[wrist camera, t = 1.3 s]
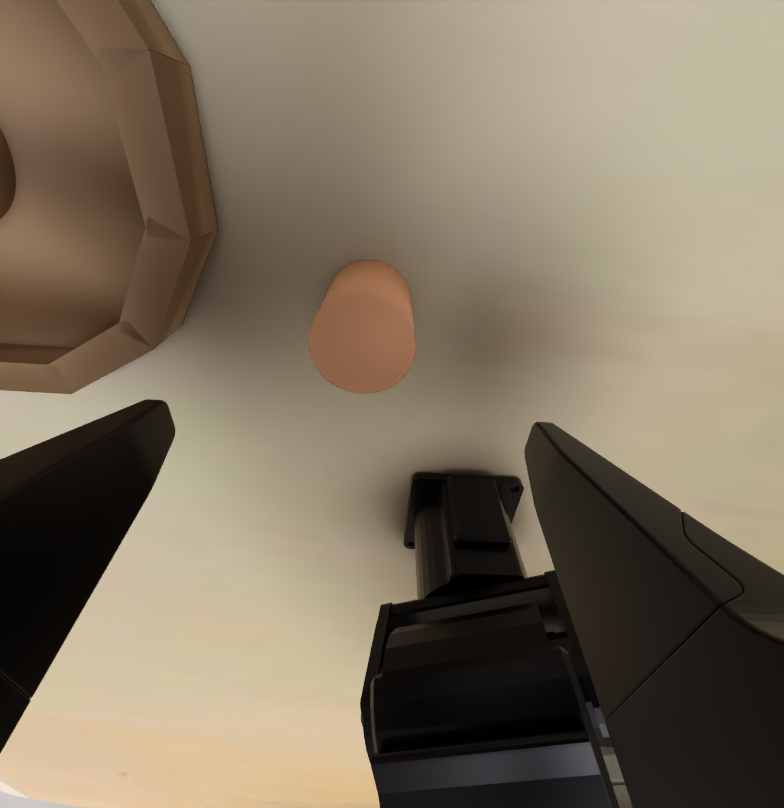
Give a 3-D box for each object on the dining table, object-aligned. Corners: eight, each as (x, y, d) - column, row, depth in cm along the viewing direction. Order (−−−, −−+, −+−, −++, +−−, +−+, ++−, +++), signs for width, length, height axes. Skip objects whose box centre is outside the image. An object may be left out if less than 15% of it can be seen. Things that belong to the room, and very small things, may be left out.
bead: (407, 343, 18) (410, 396, 14) (329, 338, 17) (311, 390, 14) (414, 262, 16) (421, 299, 12) (326, 256, 15) (305, 291, 12)
